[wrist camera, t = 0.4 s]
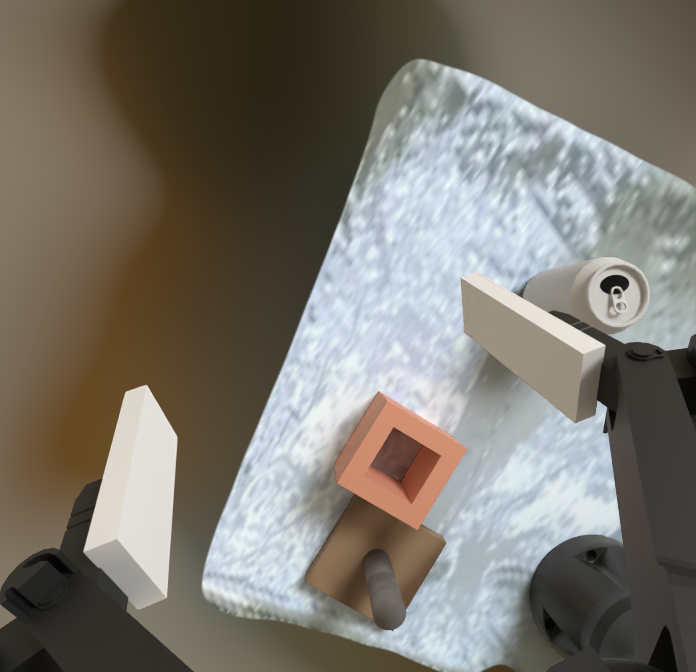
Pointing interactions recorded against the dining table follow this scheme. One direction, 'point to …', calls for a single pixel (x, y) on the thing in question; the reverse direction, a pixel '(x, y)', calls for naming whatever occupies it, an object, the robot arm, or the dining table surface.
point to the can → (593, 293)
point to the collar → (422, 476)
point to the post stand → (374, 562)
